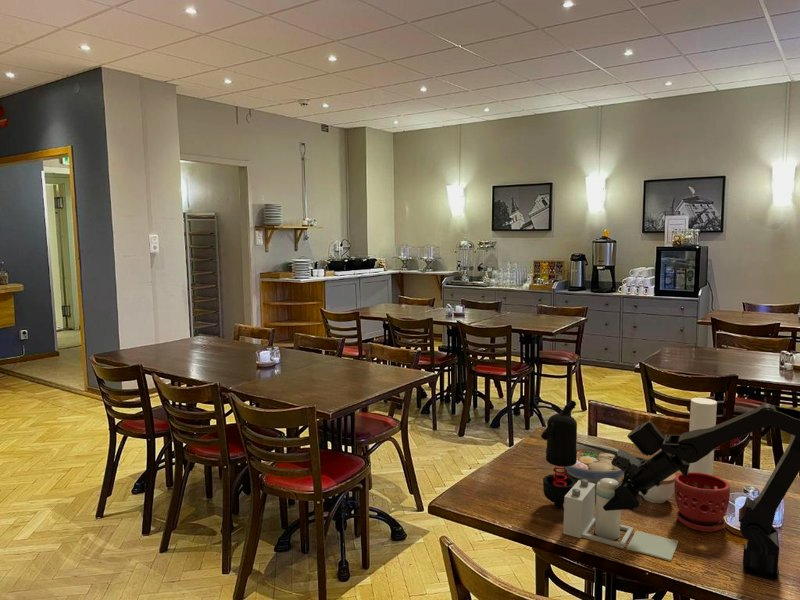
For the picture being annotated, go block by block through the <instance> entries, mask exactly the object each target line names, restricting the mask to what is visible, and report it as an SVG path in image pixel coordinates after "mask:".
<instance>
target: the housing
mask: <svg viewBox="0 0 800 600" xmlns="http://www.w3.org/2000/svg"><path fill="white" fill-rule="evenodd" d="M596 486H597V484H594V483H590V482H588V480H585V479H582V480H579V479H577V481H576V484H575V485H574V486H573V487H572V488H571V490H570V491H569V492H568V493H567V494H566V495H565V496H564V504H563V535H568V536H571V537H575V538H577V539H581V538H584V539H587V540H591V541H595V542H597V543H602V544H605V545H608V546H613V547H616V548H620V549H623V550H624V549H625V547H626V545H627V544H628V542H629V540H630V537H631V536H632V535H633V533H634V528H635V527H631V526H629V525H624V524H621V523H620V530H621V531H622V530H623V531H626V532H625V534H624V536H623V538H622V540H621V541H620V542H619V541H615V540H609V539H605V538H602V537H599V536H597V535H594V534H591V533H589V532H590V531H591V530H592V528H593V527H594V526H595V520H596V517H595V516H596Z"/></svg>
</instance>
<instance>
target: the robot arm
mask: <svg viewBox="0 0 800 600" xmlns="http://www.w3.org/2000/svg"><path fill="white" fill-rule="evenodd" d="M767 426H769V427H773V428H776V429H778V430H780V431H783V432H785V433H787V434H789V435H790V439H789V442H788V446H787V447H786V449H785V451H784V453H782V456H781V457H780V459H779V461H778V462H777V464H776V466H775V468H774V469H773V471H772V472H771V474H770V476H769V477H768V479H767V481H766V483H765V485H764V487H763V488H762V490H761V491H760V493H759V495H758V496H757V497H755V498H754V499H751V498H750V497H749V496H746V498H745V501H744V504H743V505H742V507H740V508H739V509H738V523H739V532H740V533H741V536H742V537H743V538H744V539H745V540H746V541H747V542H746V544H744V546H743V551H742V553H743V555H742V566H743V567H744V569H743V572H744V573H745V574H749V575H753V576H757V577H761V578H765V579H768V580H772V581H776V582H777V581H778V582H779V568H780V567H779V562H780V561H779V560H780V559H779V557H780V548H781V547H780V546H781V545H780V541H779V531H778V530H777V529H776V528H775V527H774V526H773V524H774V521H775V516H776V512H777V510H778V508H779V506H780V504H781V502H782V501H783V499H784V498H785V496H786V494H787V493H788V492H789V489H790V488H791V486H792V485H793V483H794V481H795V480H796V477H797V476H798V474H799V472H800V409H795V408H789V407H784V406H777V405H774V404H771V403H762V404H761V405H759V406H757V407H755V408H753V409H751V410H749V411H747V412H746V411H745V412H744V413H742V414H739V415H737V416H735V417H733V418H731V419H728V420H725V421H723V422H721V423H718V424H716V426H714V427H711V428H707V429H698V430H693V431H686V432H683V433H682V434H665V435H663V433H661V431H660V430H659V429H658V428H657V427H656V425H655V424H654V423H653V421H652V420H648V421H646V422H643V423H642V424H639V425H637V426H635V428H634V429H632V430H631V431H630V432H629V433H628V435H627V438H628V439H629V440H630V441H631V442H632V443H633V444H634V446H635V447H636V448H637V449H638V450H639V452H640V453H641V454H642V455H645V456H646V457H647V456H650V458H644V459H643V460H642V461H640V460H638V459H637V458H636V457H637V456H636V457H634V456H635V455H632V454H631V453H629V452H628V451H626V450H624V449H623V448H618V449H617V450H618V452H617V453H616V455H615V457H614V458H613V460H612V462H611V463H612V465H614V466H615V467H618V468H619V469H621V470H622V471H624V474H623V478H622V479H621V481H619V482H618V485H616V487H615V489H614V492H615V495H614V496H613V497H612V498H611V499H610V500H609V501H608V502H607V503H606V504H605V505H604V506H603V509H604V510H605V511H611V510H621V511H622V510H623V511H624V510H625V511H626V510H628V511H631V512H635V510H636V511H637V510H638V508H640V506H641V504H642V498H643V496H642V495H641V494H640V493H639V491H640V492H641V493H642V494H643V495H645V494H647V492H648V490H649V489H651V488H653V487H654V486H657V487H658V486H659V485H661V482H662V481H663V480H665V479H666V478H668V477H669V476H671V475H672V474H676V473H677V472H680V474H681V473H682V474H683V475H684V476H685V477H687V476H688V473H689V466H690V463H695V462H697V461H699V460H700V459H702V458H703V457H705V456H706V455H708V454H709V453H710V452H711V451H713V450H714V451H715V449H716V448H718V447H720V446H722V445H725V444H726V443H729V442H731V441H733V440H737V439H740V437H743V436H746V435H748V434H751V433H753V432H755V431H758V430H760V429H763V428H764V427H767Z"/></svg>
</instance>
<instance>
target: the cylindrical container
mask: <svg viewBox="0 0 800 600" xmlns="http://www.w3.org/2000/svg"><path fill="white" fill-rule="evenodd" d="M717 408H718V401H716V400H714V399H710V398H705V397H693V398H691V399H690V408H689V409H690V412H689V413H690V414H689V431H693V430H698V429H707V428H711V427H714V426H716V425H717V424H716V423H717ZM689 431H688V432H689ZM714 459H715V449H714V450H713V451H711V452H710V453H709V454H708V455H706V456H705V457H703V458H702V459H700V460H699V461H697V462H695V463H690V466H689V472H696V473H704V474H709V475H713V474H714ZM713 476H714V475H713Z"/></svg>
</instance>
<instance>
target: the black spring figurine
mask: <svg viewBox="0 0 800 600" xmlns="http://www.w3.org/2000/svg"><path fill="white" fill-rule="evenodd" d="M576 406H577V402H576V401H575V400H570V401H569V402H568V403H567V404H566V405H564V408H563V409H562V410H561V411H560V412H559V413H554V414H552V415H550V417H548V419H547V422H546V424H547V425H546V427H545V429H544V430H543V431H542V433H541V435H540V437H541V438H542V439H543V440H544V441H546V448H545V461H546V462H547V463H549V464H550V465H553V466H555V467H554V468H553V469H552V470H553V472H554V474H548V475H545V476H544V477H543V478H542V482H543V483H542V486H543V494H544V496H545V498H546V499H547V500H548V501H550V502H551V503H554V504H553V506H554V507H555V508H557V509H562V508H564V496H565V495H566V494H567V493H568V492H569V491H570V490H571V488H572V487H573V486H574V485H575V484H576V483H577V481H576V480H575V479H574V478H572V477H570V476H569V475H566V473H568V472H567V470H566V469H565V466H573V465H574V464H576V462H577V451H576V445H577V442H578V441H577V440H578V437H577V436H578V435H577V433H578V422H577V421H576V419H575V418H574V417H573V416H571V415H570V413H571V412H572V411H573V410H574V409H575V408H576ZM563 467H564V468H563ZM557 470H563V471H557Z"/></svg>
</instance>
